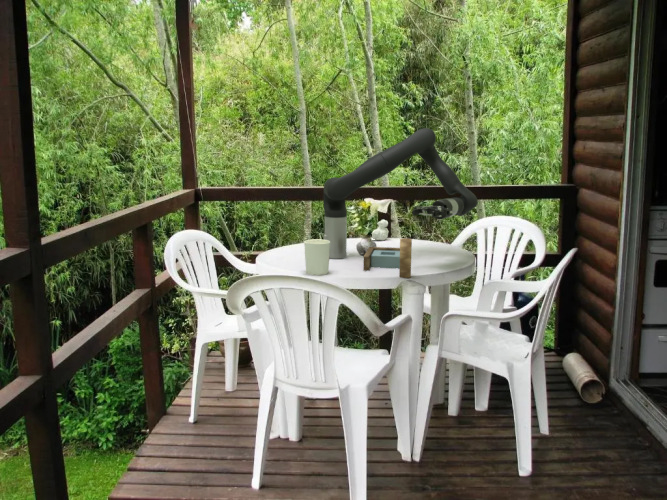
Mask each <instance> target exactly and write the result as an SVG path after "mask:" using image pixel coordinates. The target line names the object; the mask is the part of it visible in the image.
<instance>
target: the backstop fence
mask: <svg viewBox="0 0 667 500" xmlns="http://www.w3.org/2000/svg"><path fill="white" fill-rule="evenodd" d="M374 250H386V251H400V247H385V246H368V248H367V250H366V252H365V254H364V255H363V271H364V270H369V271H370V269H371V255H372V254H373V252H374Z"/></svg>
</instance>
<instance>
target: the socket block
mask: <svg viewBox="0 0 667 500" xmlns="http://www.w3.org/2000/svg"><path fill="white" fill-rule="evenodd" d="M371 267H380V268H379V269H396V268H398V270H399V269H400V251H386V250H374V252H373V254H372V255H371ZM371 267H370V268H371Z"/></svg>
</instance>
